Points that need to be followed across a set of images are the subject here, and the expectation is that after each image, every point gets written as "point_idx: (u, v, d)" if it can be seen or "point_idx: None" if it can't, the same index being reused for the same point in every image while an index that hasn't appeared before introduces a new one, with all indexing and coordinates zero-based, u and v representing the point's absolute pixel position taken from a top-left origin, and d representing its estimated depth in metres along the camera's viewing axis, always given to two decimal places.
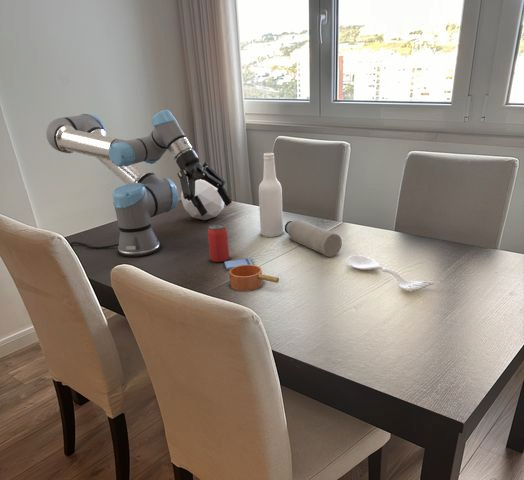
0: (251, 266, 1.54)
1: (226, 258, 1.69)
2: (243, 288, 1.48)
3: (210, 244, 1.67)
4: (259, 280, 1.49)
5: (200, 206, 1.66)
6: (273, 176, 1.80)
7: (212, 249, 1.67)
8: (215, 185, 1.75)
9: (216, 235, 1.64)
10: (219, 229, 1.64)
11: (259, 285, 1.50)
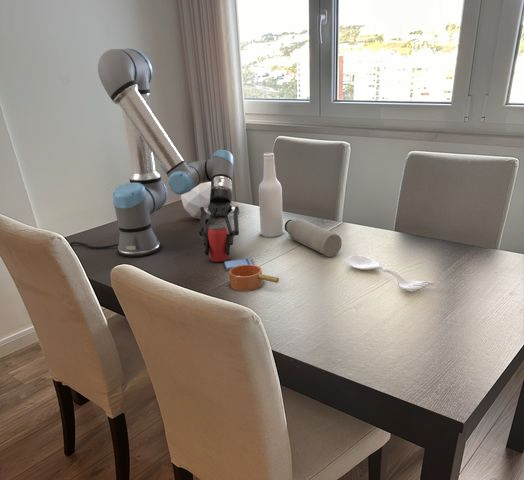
0: (251, 266, 1.54)
1: (226, 258, 1.69)
2: (243, 288, 1.48)
3: (210, 244, 1.67)
4: (259, 280, 1.49)
5: None
6: (273, 176, 1.80)
7: (212, 249, 1.67)
8: None
9: (216, 235, 1.64)
10: (219, 229, 1.64)
11: (259, 285, 1.50)
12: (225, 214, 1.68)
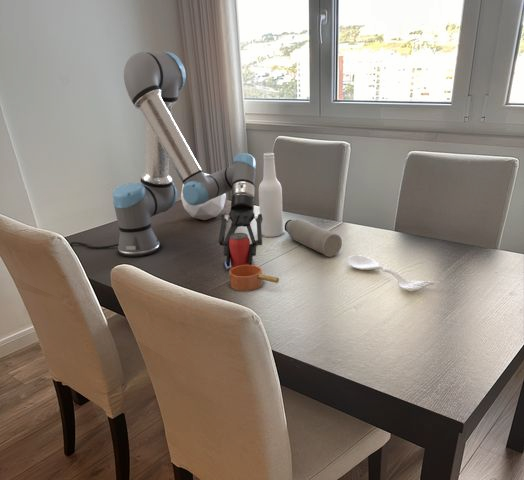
0: (251, 266, 1.54)
1: None
2: (243, 288, 1.48)
3: (231, 255, 1.55)
4: (259, 280, 1.49)
5: None
6: (273, 176, 1.80)
7: (234, 260, 1.56)
8: None
9: (239, 245, 1.52)
10: (242, 239, 1.52)
11: (259, 285, 1.50)
12: (247, 222, 1.57)
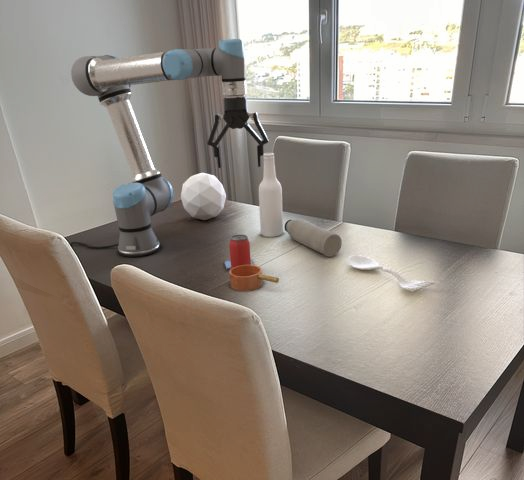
0: (251, 266, 1.54)
1: None
2: (243, 288, 1.48)
3: (232, 256, 1.56)
4: (259, 280, 1.49)
5: None
6: (273, 176, 1.80)
7: (234, 262, 1.56)
8: None
9: (239, 246, 1.53)
10: (242, 240, 1.52)
11: (259, 285, 1.50)
12: None
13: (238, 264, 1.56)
